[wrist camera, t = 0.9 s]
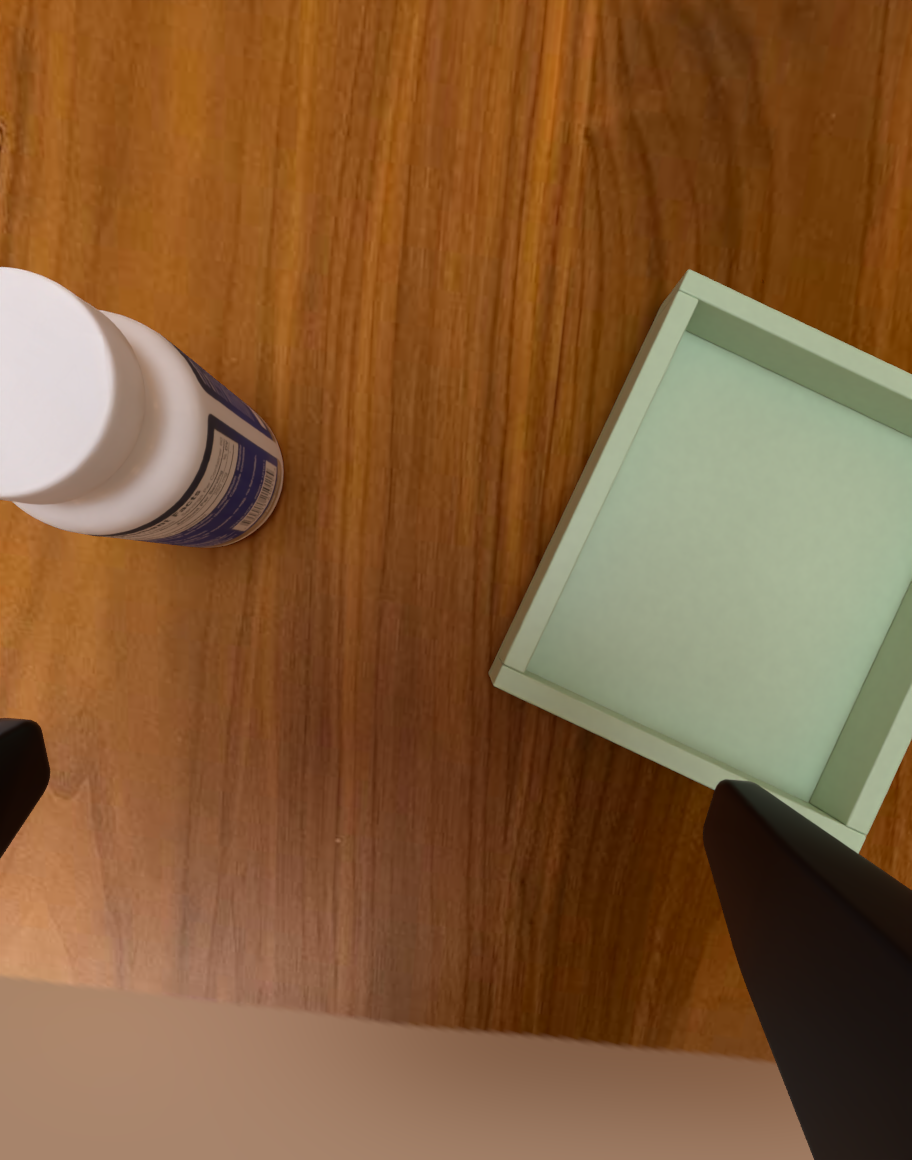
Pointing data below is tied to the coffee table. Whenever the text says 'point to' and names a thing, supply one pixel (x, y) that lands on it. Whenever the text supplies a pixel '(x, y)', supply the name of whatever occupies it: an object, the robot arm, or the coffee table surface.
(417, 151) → the coffee table surface
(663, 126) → the coffee table surface
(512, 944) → the coffee table surface
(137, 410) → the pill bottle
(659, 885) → the coffee table surface
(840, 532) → the tray
